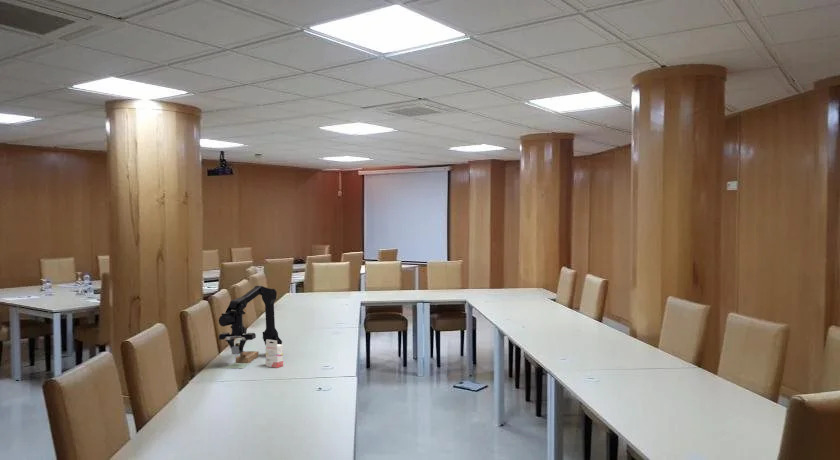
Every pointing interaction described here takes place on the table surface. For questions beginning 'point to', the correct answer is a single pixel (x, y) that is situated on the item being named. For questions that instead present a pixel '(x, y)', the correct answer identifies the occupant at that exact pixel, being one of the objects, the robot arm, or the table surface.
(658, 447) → the table surface
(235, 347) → the lever cap
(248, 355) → the body
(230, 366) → the mat
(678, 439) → the table surface
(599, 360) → the table surface
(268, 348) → the ink cartridge box
